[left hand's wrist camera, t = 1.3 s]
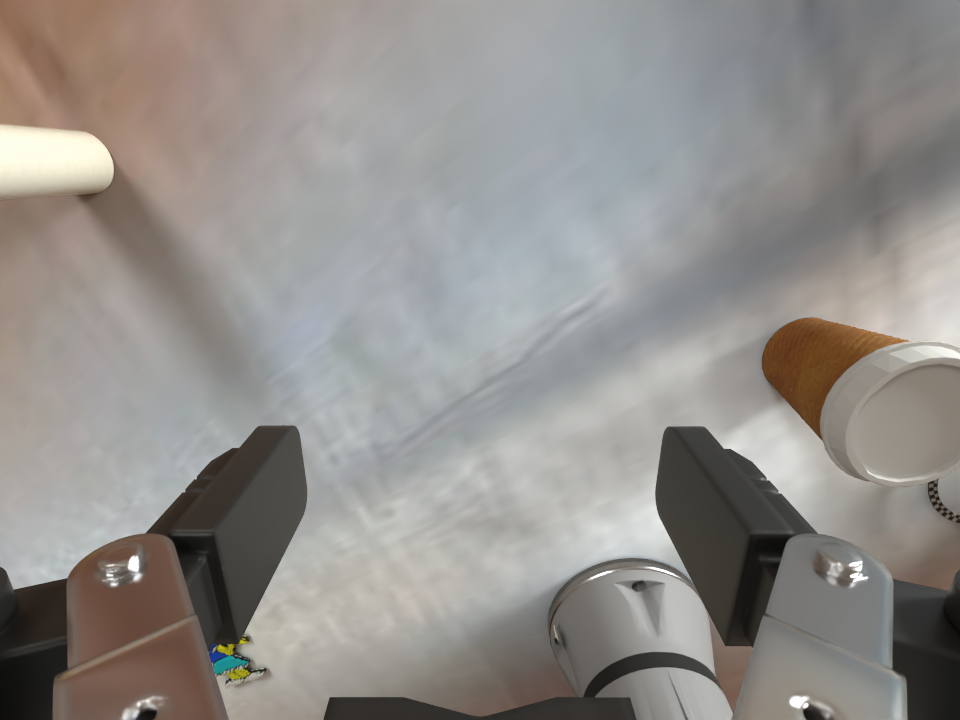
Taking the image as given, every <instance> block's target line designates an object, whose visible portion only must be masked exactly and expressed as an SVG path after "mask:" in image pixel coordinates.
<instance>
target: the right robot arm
mask: <svg viewBox="0 0 960 720" xmlns="http://www.w3.org/2000/svg"><path fill="white" fill-rule="evenodd" d="M548 630H549V636H550V643H551V647H552V650H553V652H554V655H555V658H556V660H557V662H558V664H559V666H560V668H561V669H562V671H563V673H564V675H565V677H566V679H567V680H568V682H569V684H570V686H571V688H572V690H573V692H574V693H575V695H576V697H630V698H631V702H632V706H633V709H634V713H635V716H636V720H731V719H732V715H733V712H732V710H731V708H730V706H729V704H728V701H727V699H726V697H725V695H724V693H723V691H722V689H721V687H720V685H719V682H718V680H717V678H716V675H715V669H714V660H713V651H712V641H711V633H710V623H709V618H708V615H707V611H706V608H705V605H704V603H703V601H702V599H701V597H700V595H699V593H698V591H697V589H696V588H695V586H694V585H693V584H692V582H691V581H690V580H689V579H688V578H687V577H686V576H685V575H684V574H682V573H681V572H679V571H678V570H676V569H675V568H673V567H671V566H669V565H666V564H664V563H660V562H657V561H653V560H648V559H638V558H628V559H617V560H612V561H607V562H604V563H600V564H598V565H595V566H592V567H590V568H588V569H586V570H584V571H582V572H581V573H579V574H578V575H576V576H575V577H573V578H572V579H571V580H570V581H568V582H567V583H566V584H565V585H564V586H563V587H562V589H561V590H560V591H559V592H558V594H557V595H556V597H555V598H554V600H553V602H552V605H551V607H550V611H549V615H548Z"/></svg>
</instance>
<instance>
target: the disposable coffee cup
mask: <svg viewBox="0 0 960 720" xmlns="http://www.w3.org/2000/svg"><path fill="white" fill-rule="evenodd" d="M762 368H763V371H764V374H765V376H766V378H767V380H768V381H769V382H770V383H771V384H772V385H773V386H774V387H775V388H776V389H777V390H778V392H779V393H780V394H781V395H782V396H783V397H784V398H785V400H786V401H787V402H788V403H789V404H790V405H791V406H792V407H793V409H794V410H795V411H796V412H797V413H798V414H799V415H800V416H801V418H802V419H803V420H804V421H805V422H806V423H807V424H808V425H809V426H810V427H811V429H812V430H813V431H814V432H815V433H816V434H817V435H818V436H819V438H820V439H821V440H822V441H823V443H824V445H825V449H826V451H827V453H828V454H829V456H830V458H831V459H832V460H833V462H834V463H835V464H836V465H837V466H838V467H839V468H840V469H841V470H843V471H844V472H845V473H847V474H849V475H851V476H853V477H855V478H858V479H861V480H865V481H871V482H874V483H876V484H880V485H884V486H888V487H910V486H916V485H922V484H925V483H928V482H931V481H934V480H937V479H939V478H941V477H943V476H945V475H947V474H949V473H951V472H952V471H954V470H956V469H957V468H958V467H960V349H959V348H957V347H954V346H952V345H949V344H945V343H941V342H933V341H918V342H911V341H908V340H903V339H900V338H895V337H892V336H885V335H884V334H878V333H875V332H871V331H866V330H863V329H857V328H855V327H851V326H846V325H842V324H838V323H833V322H830V321H826V320H822V319H819V318H802V319H798V320H795V321H793V322H791V323H788V324H786V325H785V326H783V327H782V328H780V329H779V330H778V331H777V332H776V333H775V334H774V335H773V336H772V337H771V339H770V340H769V341H768V343H767V345H766V347H765V350H764V353H763V357H762Z"/></svg>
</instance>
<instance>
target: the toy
mask: <svg viewBox="0 0 960 720" xmlns="http://www.w3.org/2000/svg"><path fill="white" fill-rule="evenodd" d="M248 641H250V640H249V638H248V637H247V636H244V635H243V636H242V638H241V640H240V642H239V644H238V645H240V644H242V643H243V644H246V643H247V642H248ZM232 645H233V646H232ZM235 646H236V644H212V646H211V648H210V650H209V651H208V653H209V656H210V660H211V663H213V669H214V673H215V674H216V677H217V676H218V675H219V674H220V676H221V675H222V674H223V675H224V674H225V673H226V672H227V675H228V676H229V677H230V678H229V679H228V680H226V684H225V688H229V687H232V686H235V685H238V684H241V683H242V682H243V681H244V682H247V681H250V680H251V681H253V680H256V679H258V678H259V677H262V675H263V674H264V673H265V671H266V668H258V669H254V670H251V669H250V668H249V667H247V665H248V663H249V662H250V660H249V659H246V658H244V657H242V656H238V655H234V652H235V651H236V648H235ZM230 651H231V653H230ZM223 654H225V655H223ZM216 660H217V661H216ZM238 662H239V663H238ZM240 670H241V671H240ZM242 671H243V672H244V673H243V672H242Z"/></svg>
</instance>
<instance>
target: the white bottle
mask: <svg viewBox="0 0 960 720" xmlns="http://www.w3.org/2000/svg"><path fill="white" fill-rule="evenodd" d="M113 175H114V165H113V161H112V158H111V155H110V153H109V151H108V150H107V148H106V147H105V146H104V145H103V143H101V142H100V141H99V140H98V139H97V138H96V137H94V136H93V135H91V134H89V133H86V132H84V131H79V130H67V129H56V128H44V127H32V126H21V125H9V124H0V201H2V200H15V199H29V198H43V197H56V196H70V195H83V194H95V193H99V192H102V191H103V190H105V189H106V188H107V187H108V186H109V185H110V183H111V182H112V179H113Z"/></svg>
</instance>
